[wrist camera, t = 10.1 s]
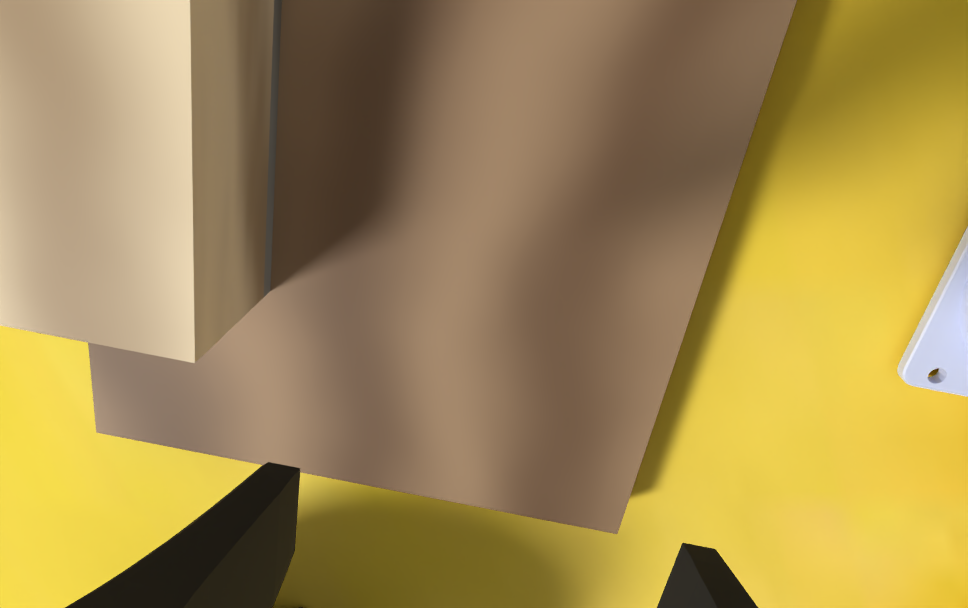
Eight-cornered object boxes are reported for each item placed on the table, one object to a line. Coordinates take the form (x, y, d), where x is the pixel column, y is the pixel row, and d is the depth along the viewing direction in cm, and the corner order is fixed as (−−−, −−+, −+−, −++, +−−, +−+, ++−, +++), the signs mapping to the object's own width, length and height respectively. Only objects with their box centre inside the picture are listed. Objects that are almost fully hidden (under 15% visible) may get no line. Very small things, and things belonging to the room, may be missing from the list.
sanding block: (283, -48, 15) (188, -77, 11) (270, 291, 19) (195, 363, 15) (56, -91, 15) (-121, -136, 11) (87, 255, 19) (-40, 317, 15)
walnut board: (863, -269, 14) (898, -302, 13) (612, 504, 23) (617, 533, 21) (66, -416, 14) (14, -465, 13) (123, 408, 23) (96, 432, 22)
